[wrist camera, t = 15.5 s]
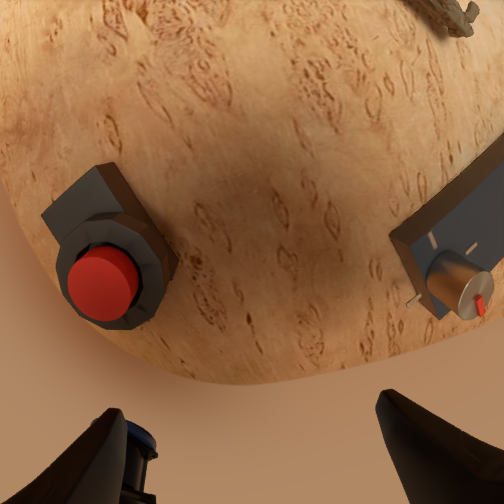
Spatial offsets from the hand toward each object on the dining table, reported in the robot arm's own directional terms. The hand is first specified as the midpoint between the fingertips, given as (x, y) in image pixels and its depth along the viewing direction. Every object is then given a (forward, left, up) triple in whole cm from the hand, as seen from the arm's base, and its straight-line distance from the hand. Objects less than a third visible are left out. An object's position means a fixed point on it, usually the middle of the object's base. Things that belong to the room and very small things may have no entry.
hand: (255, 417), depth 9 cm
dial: (-8, -13, -10) cm, 18 cm away
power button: (+5, +5, -8) cm, 11 cm away
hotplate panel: (-7, -19, -13) cm, 24 cm away
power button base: (+7, +5, -13) cm, 15 cm away
